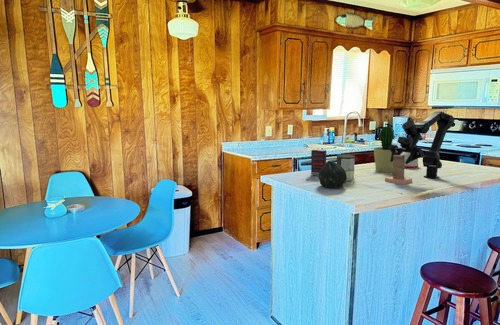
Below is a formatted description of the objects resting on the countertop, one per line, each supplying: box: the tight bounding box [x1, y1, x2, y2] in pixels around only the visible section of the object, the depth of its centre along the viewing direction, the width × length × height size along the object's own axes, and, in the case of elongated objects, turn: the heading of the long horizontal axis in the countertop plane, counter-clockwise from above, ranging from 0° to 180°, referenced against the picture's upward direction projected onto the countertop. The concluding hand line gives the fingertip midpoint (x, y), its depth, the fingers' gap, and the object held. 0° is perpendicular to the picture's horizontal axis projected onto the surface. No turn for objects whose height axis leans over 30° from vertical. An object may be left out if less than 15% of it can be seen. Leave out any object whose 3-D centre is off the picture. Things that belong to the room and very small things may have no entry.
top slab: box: [384, 175, 413, 185], centre depth 190 cm, size 10×10×2 cm
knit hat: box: [400, 152, 419, 170], centre depth 242 cm, size 14×14×15 cm
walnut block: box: [392, 154, 405, 179], centre depth 189 cm, size 5×5×12 cm
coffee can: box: [336, 154, 356, 182], centre depth 202 cm, size 10×10×14 cm
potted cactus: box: [373, 125, 395, 173], centre depth 227 cm, size 15×15×30 cm
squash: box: [317, 160, 347, 189], centre depth 184 cm, size 14×15×15 cm
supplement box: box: [310, 149, 327, 177], centre depth 214 cm, size 9×5×16 cm, turn 65°
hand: (398, 162), depth 188 cm, fingers open, 9 cm apart
